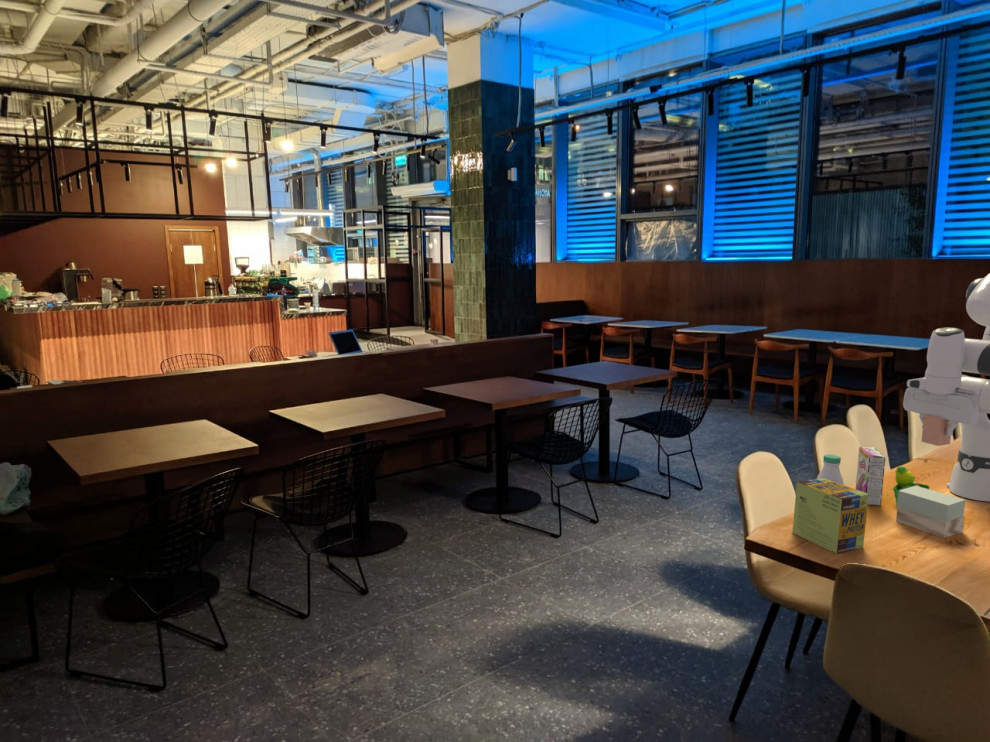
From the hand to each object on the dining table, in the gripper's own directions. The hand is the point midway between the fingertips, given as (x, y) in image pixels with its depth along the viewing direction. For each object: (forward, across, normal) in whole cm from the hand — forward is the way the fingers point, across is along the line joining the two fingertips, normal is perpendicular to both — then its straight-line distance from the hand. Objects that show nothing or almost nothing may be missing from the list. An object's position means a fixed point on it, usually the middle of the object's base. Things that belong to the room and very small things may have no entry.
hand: (936, 432), depth 199 cm
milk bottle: (+28, +14, +24) cm, 40 cm away
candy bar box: (+29, +22, -3) cm, 37 cm away
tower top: (+24, 0, 0) cm, 24 cm away
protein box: (+28, +3, +36) cm, 46 cm away
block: (+3, 0, 0) cm, 3 cm away
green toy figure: (+29, +16, -14) cm, 36 cm away
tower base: (+29, -1, 0) cm, 29 cm away
